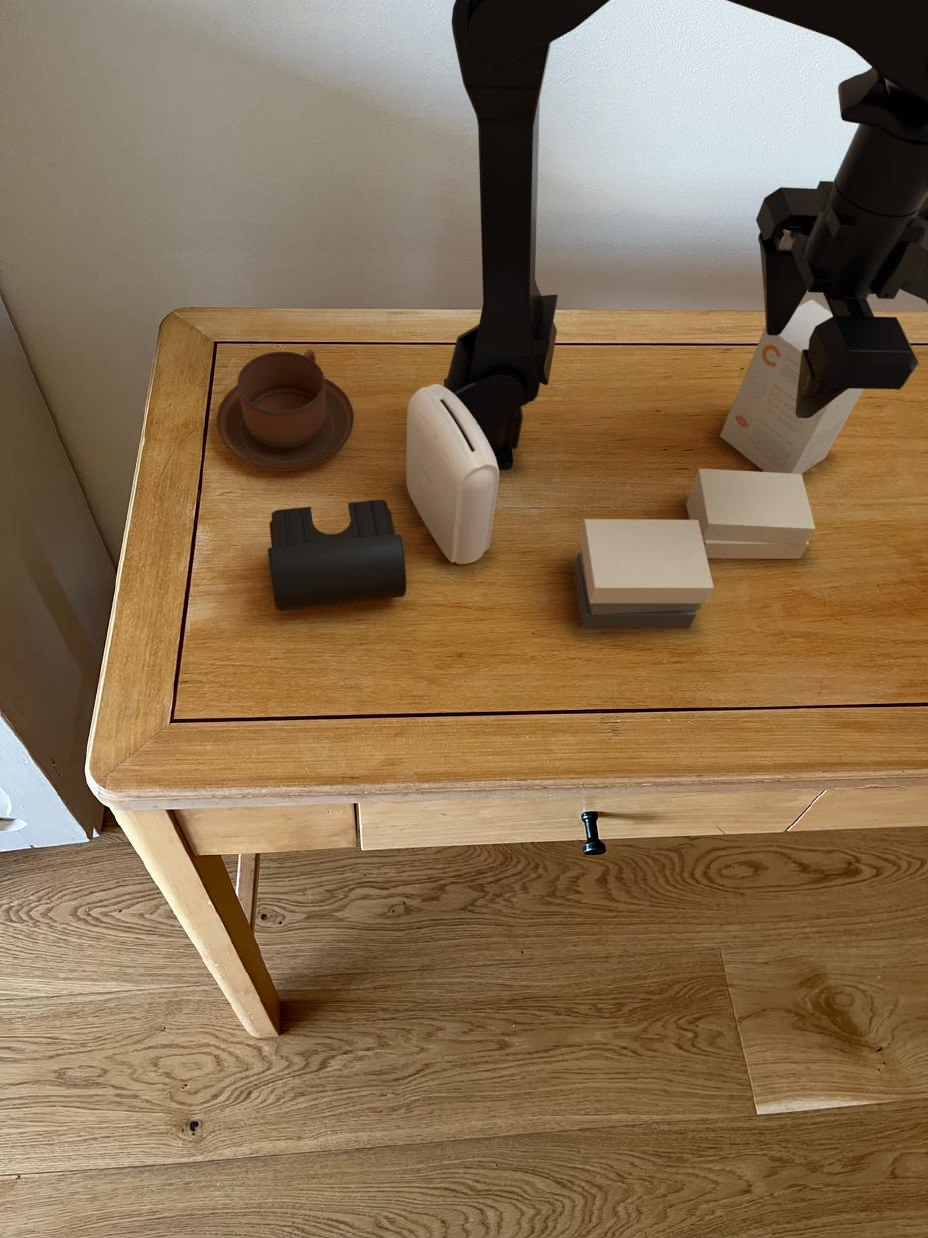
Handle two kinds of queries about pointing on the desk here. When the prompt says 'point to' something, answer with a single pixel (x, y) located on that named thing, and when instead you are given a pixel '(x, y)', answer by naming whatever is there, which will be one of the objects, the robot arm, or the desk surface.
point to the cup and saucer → (284, 413)
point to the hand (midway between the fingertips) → (787, 373)
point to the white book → (645, 561)
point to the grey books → (628, 609)
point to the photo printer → (450, 473)
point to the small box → (784, 403)
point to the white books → (751, 514)
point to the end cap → (335, 558)
